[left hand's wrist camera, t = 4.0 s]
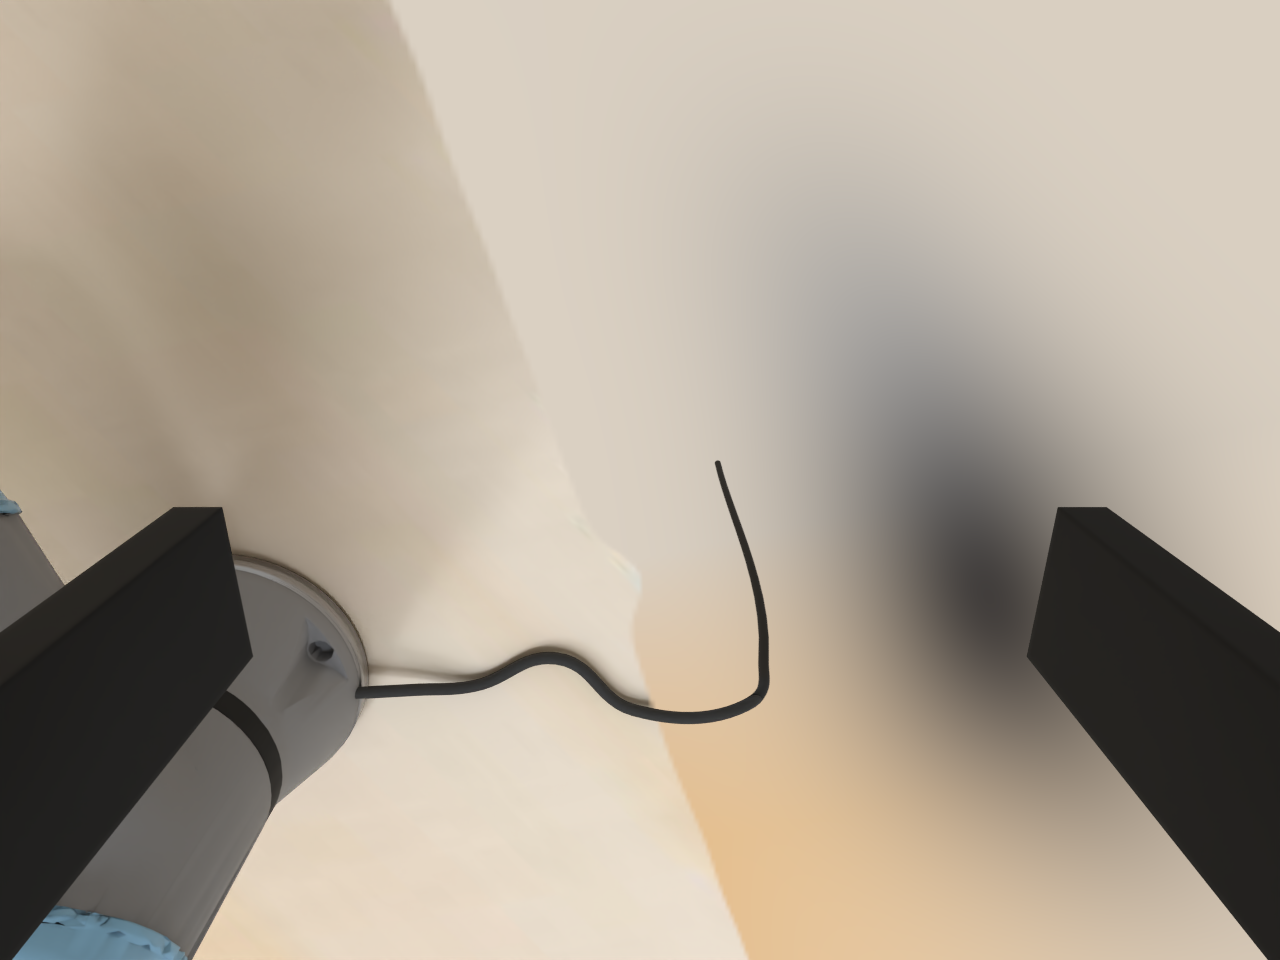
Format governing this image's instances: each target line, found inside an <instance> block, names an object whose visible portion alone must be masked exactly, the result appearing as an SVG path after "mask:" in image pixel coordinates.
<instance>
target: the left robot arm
mask: <svg viewBox="0 0 1280 960" xmlns="http://www.w3.org/2000/svg"><path fill="white" fill-rule="evenodd" d="M715 466H716V471H717V474H718V478H719V481H720V485H721V488H722V491H723V494H724V498H725V501H726V504H727V507H728V510H729V513H730V516H731V519H732V522H733V524H734V527H735V530H736V533H737V536H738V539H739V542H740V545H741V549H742V552H743V555H744V558H745V562H746V565H747V569H748V573H749V576H750V581H751V585H752V590H753V594H754V599H755V606H756V612H757V621H758V634H759V648H758V671H759V681H758V687H757V689H756V690H755V692H754V693H753V694H751V695H750V696H749V697H747V698H746V699H744V700H742V701H740V702H737V703H735V704H732V705H730V706H727V707H723V708H719V709H715V710H709V711H702V712H674V711H665V710H659V709H653V708H649V707H644V706H640V705H636V704H633V703H630V702H627V701H625V700H623V699H622V698H620V697H619V696H617V695H616V694H615V693H614V692H612V691H611V690H610V689H609V688H608V687H607V685H606V684H605V683H604V682H603V681H602V680H601V679H600V678H599V677H598V676H597V674H596V673H595V672H594V671H593V670H592V669H590V668H589V667H588V666H587V665H586V664H584V663H583V662H581V661H580V660H578V659H576V658H574V657H572V656H569V655H566V654H562V653H556V652H542V653H536V654H532V655H529V656H526V657H523V658H521V659H519V660H517V661H515V662H513V663H511V664H510V665H508V666H506V667H504V668H503V669H501V670H499V671H497V672H495V673H493V674H491V675H489V676H486V677H483V678H481V679H476V680H472V681H466V682H457V683H427V684H404V685H385V686H368V666H367V660H366V656H365V652H364V649H363V646H362V643H361V641H360V639H359V637H358V634H357V632H356V631H355V629H354V627H353V625H352V624H351V622H350V621H349V619H348V618H347V617H346V615H345V614H344V613H343V611H342V610H341V609H340V608H339V607H338V606H337V605H336V603H335V602H334V601H333V600H331V599H330V598H329V597H328V596H327V595H326V594H325V593H324V592H323V591H321V590H320V589H319V588H318V587H316V586H315V585H313V584H312V583H310V582H309V581H308V580H306V579H304V578H303V577H301V576H299V575H297V574H296V573H294V572H292V571H290V570H287V569H285V568H283V567H281V566H278V565H275V564H273V563H270V562H267V561H263V560H260V559H256V558H251V557H246V556H240V555H232V552H231V547H230V543H229V538H228V533H227V528H226V523H225V519H224V514H223V509H222V507H173V508H172V509H170V510H169V511H168V512H166V513H165V514H163V515H162V516H161V517H159V518H158V519H156V520H155V521H154V522H152V523H151V524H150V525H148V526H147V527H145V528H144V529H143V530H141V531H140V532H138V533H137V534H136V535H134V536H133V537H132V538H130V539H129V540H127V541H126V542H125V543H123V544H122V545H120V546H119V547H118V548H116V549H115V550H114V551H112V552H111V553H109V554H108V555H107V556H105V557H104V558H102V559H101V560H100V561H98V562H97V563H96V564H94V565H93V566H91V567H90V568H89V569H87V570H86V571H84V572H83V573H82V574H80V575H79V576H78V577H76V578H75V579H73V580H72V581H71V582H69V583H68V584H66V585H64V584H63V582H62V581H61V579H60V578H59V576H58V575H57V573H56V572H55V570H54V568H53V567H52V565H51V564H50V562H49V561H48V559H47V558H46V556H45V554H44V553H43V551H42V550H41V548H40V547H39V545H38V544H37V542H36V540H35V539H34V537H33V536H32V534H31V533H30V531H29V530H28V528H27V526H26V525H25V523H24V522H23V520H22V519H21V517H20V516H19V514H20V513H21V512H22V511H21V509H20V507H19V505H18V504H17V503H16V502H15V501H11V500H8V499H7V498H6V496H5V495H4V494H3V493H2V491H1V490H0V960H192V959H193V957H194V955H195V953H196V951H197V949H198V947H199V946H200V944H201V942H202V940H203V938H204V936H205V934H206V933H207V931H208V929H209V927H210V925H211V923H212V921H213V920H214V918H215V916H216V914H217V912H218V910H219V908H220V907H221V905H222V903H223V901H224V899H225V897H226V895H227V894H228V892H229V890H230V888H231V886H232V884H233V882H234V881H235V879H236V877H237V875H238V873H239V871H240V869H241V868H242V866H243V864H244V862H245V860H246V858H247V856H248V855H249V853H250V851H251V849H252V847H253V845H254V843H255V842H256V840H257V838H258V836H259V834H260V832H261V830H262V829H263V827H264V825H265V822H266V821H267V819H268V817H269V815H270V814H271V812H272V810H273V808H274V807H275V805H276V804H277V803H278V802H279V801H281V800H282V799H283V798H284V797H285V796H287V795H288V794H289V793H290V792H291V791H293V790H294V789H295V788H296V787H297V786H299V785H300V784H301V783H302V782H303V781H305V780H306V779H307V778H308V777H309V776H310V775H312V774H313V773H314V772H315V771H316V770H318V769H319V768H320V767H321V766H322V765H324V764H325V763H326V762H327V761H328V760H329V759H330V758H331V757H332V756H333V755H334V754H335V753H336V752H337V751H338V749H339V748H340V747H341V746H342V745H343V744H344V742H345V741H346V740H347V738H348V737H349V735H350V733H351V731H352V730H353V728H354V726H355V724H356V722H357V720H358V718H359V716H360V714H361V711H362V709H363V706H364V704H365V700H366V698H385V697H403V696H422V695H454V694H464V693H471V692H476V691H480V690H484V689H487V688H489V687H492V686H494V685H497V684H499V683H501V682H503V681H505V680H507V679H508V678H510V677H512V676H514V675H516V674H517V673H519V672H521V671H523V670H525V669H527V668H529V667H532V666H536V665H541V664H556V665H561V666H565V667H567V668H570V669H572V670H574V671H575V672H577V673H578V674H579V675H581V676H582V677H583V678H584V679H585V680H586V681H587V682H588V683H589V684H590V685H591V686H592V687H593V689H594V690H595V691H596V692H597V693H598V694H599V695H600V696H601V697H602V698H603V699H604V700H605V701H606V702H607V703H609V704H610V705H611V706H613V707H614V708H616V709H617V710H619V711H621V712H623V713H626V714H629V715H631V716H635V717H639V718H643V719H648V720H653V721H659V722H666V723H676V724H701V723H710V722H716V721H721V720H725V719H728V718H732V717H734V716H737V715H740V714H742V713H744V712H747V711H749V710H750V709H752V708H754V707H756V706H757V705H758V704H759V703H760V702H761V701H762V700H763V699H764V698H765V696H766V694H767V692H768V689H769V685H770V673H769V634H768V624H767V615H766V609H765V604H764V598H763V594H762V590H761V585H760V581H759V578H758V574H757V571H756V567H755V564H754V560H753V557H752V554H751V551H750V548H749V545H748V542H747V539H746V537H745V534H744V531H743V528H742V525H741V522H740V520H739V517H738V514H737V511H736V509H735V506H734V503H733V500H732V497H731V494H730V492H729V489H728V486H727V483H726V479H725V476H724V473H723V469H722V465H721V462H720V461H719V460H717V461H715ZM1027 657H1028V659H1029V660H1030V661H1031V663H1032V664H1033V665H1034V666H1035V668H1036V669H1037V670H1038V671H1039V673H1040V674H1041V675H1042V676H1043V678H1044V679H1045V680H1046V681H1047V683H1048V684H1049V685H1050V686H1051V688H1052V689H1053V690H1054V691H1055V693H1056V694H1057V695H1058V697H1059V698H1060V699H1061V700H1062V702H1063V703H1064V704H1065V705H1066V707H1067V708H1068V709H1069V710H1070V712H1071V713H1072V714H1073V715H1074V717H1075V718H1076V719H1077V720H1078V722H1079V723H1080V724H1081V725H1082V727H1083V728H1084V729H1085V730H1086V732H1087V733H1088V734H1089V735H1090V737H1091V738H1092V739H1093V740H1094V742H1095V743H1096V744H1097V746H1098V747H1099V748H1100V749H1101V751H1102V752H1103V753H1104V754H1105V756H1106V757H1107V758H1108V759H1109V761H1110V762H1111V763H1112V764H1113V766H1114V767H1115V768H1116V769H1117V771H1118V772H1119V773H1120V774H1121V776H1122V777H1123V778H1124V779H1125V781H1126V782H1127V783H1128V784H1129V786H1130V787H1131V788H1132V790H1133V791H1134V792H1135V793H1136V795H1137V796H1138V797H1139V798H1140V800H1141V801H1142V802H1143V803H1144V805H1145V806H1146V807H1147V808H1148V810H1149V811H1150V812H1151V813H1152V815H1153V816H1154V817H1155V818H1156V820H1157V821H1158V822H1159V824H1160V825H1161V826H1162V827H1163V829H1164V830H1165V831H1166V832H1167V834H1168V835H1169V836H1170V837H1171V839H1172V840H1173V841H1174V842H1175V844H1176V845H1177V846H1178V847H1179V849H1180V850H1181V851H1182V852H1183V854H1184V855H1185V856H1186V857H1187V859H1188V860H1189V861H1190V862H1191V864H1192V865H1193V866H1194V867H1195V869H1196V870H1197V871H1198V873H1199V874H1200V875H1201V876H1202V878H1203V879H1204V880H1205V881H1206V883H1207V884H1208V885H1209V886H1210V888H1211V889H1212V890H1213V891H1214V893H1215V894H1216V895H1217V896H1218V898H1219V899H1220V900H1221V902H1222V903H1223V904H1224V905H1225V907H1226V908H1227V909H1228V910H1229V912H1230V913H1231V914H1232V915H1233V916H1234V918H1235V919H1236V920H1237V922H1238V923H1239V924H1240V925H1241V927H1242V928H1243V929H1244V930H1245V932H1246V933H1247V934H1248V935H1249V937H1250V938H1251V939H1252V940H1253V942H1254V943H1255V944H1256V946H1257V947H1258V948H1259V949H1260V951H1261V952H1262V953H1263V954H1264V956H1265V957H1266V958H1267V959H1268V960H1280V632H1279V631H1277V630H1276V629H1274V628H1273V627H1272V626H1270V625H1269V624H1268V623H1266V622H1265V621H1263V620H1262V619H1260V618H1259V617H1258V616H1256V615H1255V614H1254V613H1252V612H1251V611H1250V610H1248V609H1247V608H1245V607H1244V606H1243V605H1241V604H1240V603H1238V602H1237V601H1236V600H1234V599H1233V598H1232V597H1230V596H1229V595H1227V594H1226V593H1225V592H1223V591H1222V590H1220V589H1219V588H1218V587H1216V586H1215V585H1214V584H1212V583H1211V582H1209V581H1208V580H1207V579H1205V578H1204V577H1202V576H1201V575H1200V574H1198V573H1197V572H1196V571H1194V570H1193V569H1191V568H1190V567H1189V566H1187V565H1186V564H1184V563H1183V562H1182V561H1180V560H1179V559H1178V558H1176V557H1175V556H1173V555H1172V554H1171V553H1169V552H1168V551H1166V550H1165V549H1164V548H1162V547H1161V546H1160V545H1158V544H1157V543H1155V542H1154V541H1153V540H1151V539H1150V538H1148V537H1147V536H1146V535H1144V534H1143V533H1142V532H1140V531H1139V530H1137V529H1136V528H1135V527H1133V526H1132V525H1130V524H1129V523H1128V522H1126V521H1125V520H1124V519H1122V518H1121V517H1119V516H1118V515H1117V514H1115V513H1114V512H1112V511H1111V510H1110V509H1108V508H1107V507H1058V509H1057V514H1056V519H1055V523H1054V528H1053V533H1052V538H1051V543H1050V547H1049V552H1048V557H1047V562H1046V567H1045V571H1044V576H1043V581H1042V586H1041V591H1040V596H1039V600H1038V605H1037V610H1036V615H1035V620H1034V624H1033V629H1032V634H1031V639H1030V644H1029V648H1028V653H1027Z"/></svg>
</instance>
